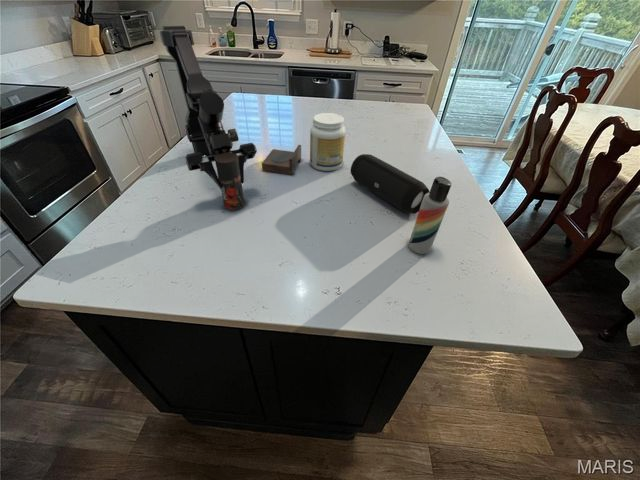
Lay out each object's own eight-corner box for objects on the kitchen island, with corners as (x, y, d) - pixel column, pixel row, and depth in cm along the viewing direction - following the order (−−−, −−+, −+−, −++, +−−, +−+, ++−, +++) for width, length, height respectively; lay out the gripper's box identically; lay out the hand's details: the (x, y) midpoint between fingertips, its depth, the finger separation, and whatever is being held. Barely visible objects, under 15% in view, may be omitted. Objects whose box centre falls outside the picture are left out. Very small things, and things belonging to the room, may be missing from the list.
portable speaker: (347, 183, 100) (350, 155, 93) (368, 175, 105) (372, 148, 98) (404, 221, 85) (413, 191, 79) (426, 210, 90) (435, 181, 83)
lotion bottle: (405, 240, 79) (426, 173, 66) (425, 239, 79) (450, 173, 66) (412, 255, 75) (435, 186, 61) (433, 254, 75) (461, 186, 62)
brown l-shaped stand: (262, 171, 104) (260, 155, 100) (273, 156, 113) (272, 141, 109) (292, 175, 102) (291, 159, 98) (301, 160, 111) (301, 145, 107)
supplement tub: (349, 164, 110) (354, 118, 99) (327, 176, 103) (330, 127, 92) (325, 154, 116) (327, 109, 105) (302, 163, 109) (302, 117, 98)
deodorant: (248, 200, 89) (241, 154, 79) (237, 211, 85) (229, 164, 75) (231, 196, 91) (222, 150, 80) (220, 206, 86) (209, 160, 76)
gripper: (176, 123, 71) (197, 185, 71) (250, 113, 78) (269, 169, 78) (179, 142, 81) (197, 196, 81) (244, 131, 88) (261, 181, 89)
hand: (232, 185), depth 82 cm, fingers closed on deodorant, 6 cm apart
